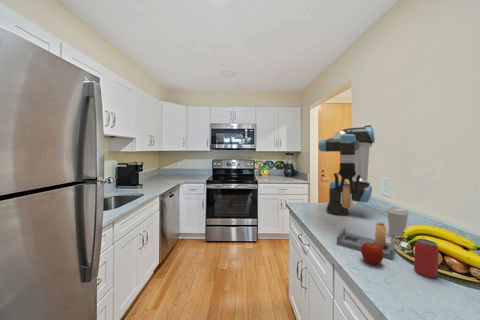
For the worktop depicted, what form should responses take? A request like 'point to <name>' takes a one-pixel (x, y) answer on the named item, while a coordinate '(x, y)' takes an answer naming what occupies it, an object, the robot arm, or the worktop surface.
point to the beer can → (426, 258)
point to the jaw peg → (346, 196)
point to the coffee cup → (397, 220)
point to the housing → (368, 240)
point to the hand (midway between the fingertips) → (346, 204)
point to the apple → (372, 253)
